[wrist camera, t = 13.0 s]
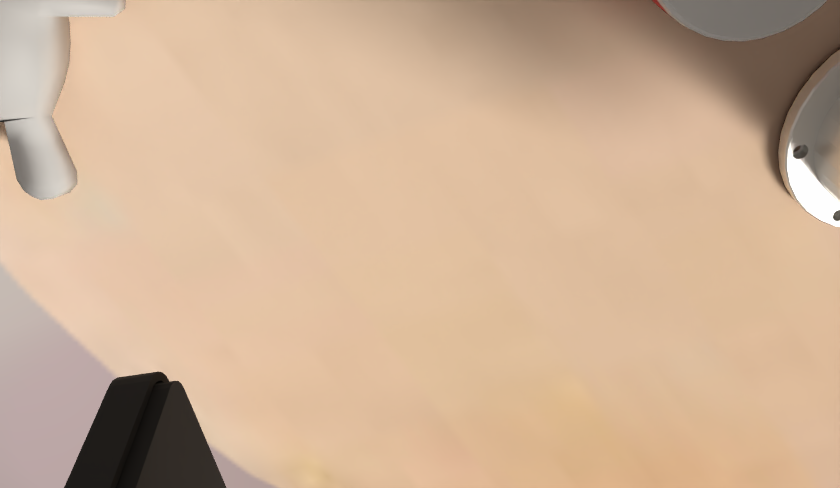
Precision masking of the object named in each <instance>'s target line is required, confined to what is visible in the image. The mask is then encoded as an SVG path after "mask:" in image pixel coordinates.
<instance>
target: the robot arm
mask: <svg viewBox="0 0 840 488" xmlns="http://www.w3.org/2000/svg"><path fill="white" fill-rule="evenodd" d="M778 155H779V168H780V173H781V176H782V179H783V182H784V185H785V187H786V188H787V190H788V191H789V193H790V194H791V196H792V197H793V199H794V200H795V201H796V202H797V203H798V204H799V205H800V206H801V207H802V208H803V209H804V210H805V211H806V212H807V213H809V214H810V215H812V216H813V217H815V218H816V219H818V220H819V221H822V222H824V223H827V224H829V225H832V226H836V227H840V49H839V50H838V51H837V52H835V53H834V54H833V55H831V56H830V57H829V58H828V59H827V60H826V61H825V62H824V63H823V64H822V65H821V66H820V67H819V68H818V69H817V70H816V71H815V72H814V73H813V75H812V76H811V77H810V79H809V80H808V81H807V83H806V84H805V85H804V86H803V88H802V89H801V90H800V92H799V93H798V95H797V97H796V99H795V101H794V102H793V104H792V106H791V108H790V110H789V112H788V114H787V117H786V120H785V123H784V126H783V128H782V131H781V136H780V143H779V151H778ZM64 488H226V486H225V483H224V481H223V479H222V476H221V474H220V472H219V470H218V467H217V465H216V462H215V460H214V458H213V455H212V453H211V451H210V448H209V446H208V444H207V441H206V439H205V436H204V434H203V432H202V429H201V427H200V425H199V422H198V420H197V418H196V415H195V413H194V411H193V408H192V406H191V404H190V401H189V399H188V397H187V394H186V392H185V390H184V388H183V386H182V384H181V383H180V382H179V381H171V382H169V380H168V378H167V376H166V375H165V374H163V373H162V372H153V373H146V374H140V375H133V376H126V377H119V378H116V379H114V380H113V381H112V383H111V384H110V386H109V388H108V390H107V392H106V394H105V397H104V399H103V401H102V403H101V406H100V408H99V410H98V413H97V415H96V417H95V419H94V421H93V424H92V426H91V428H90V431H89V433H88V435H87V437H86V440H85V442H84V444H83V446H82V449H81V451H80V453H79V455H78V458H77V460H76V462H75V465H74V467H73V469H72V471H71V474H70V476H69V478H68V481H67V483H66V485H65V487H64Z"/></svg>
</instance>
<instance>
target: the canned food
mask: <svg viewBox="0 0 840 488" xmlns="http://www.w3.org/2000/svg"><path fill="white" fill-rule="evenodd" d="M652 1H653V2H654V3H655V4H656V5H657V6H659V7H660V8H661V9H662V10H664V11H665V12H666V13H667V14H669V15H670V16H671V17H672V18H674V19H675V20H676V21H677V22H679V23H680V24H681V25H683V26H685V27H687V28H689V29H691V30H693V31H695V32H697V33H699V34H701V35H703V36H705V37H710V38H714V39H718V40H722V41H749V40H755V39H761V38H765V37H768V36H771V35H774V34H777V33H780V32H783V31H785V30H787V29H788V28H790V27H792V26H794V25H796V24H798V23H799V22H801V21H803V20H804V19H806V18H807V17H808V16H810V15H811V14H812V13H813V12H815V11H816V10H817V9H819V8H820V7H821V6H822V5H823V4H824V3H825V2H826V1H827V0H652Z"/></svg>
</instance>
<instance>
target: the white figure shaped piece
mask: <svg viewBox="0 0 840 488" xmlns="http://www.w3.org/2000/svg"><path fill="white" fill-rule="evenodd" d="M125 2H126V0H0V122H4V123H5V128H6V132H7V137H8V141H9V146H10V151H11V155H12V160H13V164H14V169H15V173H16V178H17V181H18V182H19V184H20V185H21V187H22V189H23V190H24V191H25V192H26V193H28V194H29V195H31V196H32V197H34V198H37V199H39V200H45V199H53V198H56V197H59V196H61V195H64V194H67V193H70V192H71V190H72V189H73V188H74V187H75V186H76V185H77V170H76V168H75V166H74V164H73V162H72V159H71V157H70V155H69V153H68V151H67V148H66V146H65V144H64V142H63V140H62V137H61V135H60V133H59V131H58V129H57V126H56V124H55V122H54V120H53V118H52V114H53V111H54V109H55V106H56V103H57V101H58V98H59V96H60V93H61V90H62V88H63V85H64V83H65V79H66V74H67V70H68V66H69V59H70V24H69V19H68V17H114V16H116V15H117V14H118V13H120V12H121V11H123V10H124V9H125Z"/></svg>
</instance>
